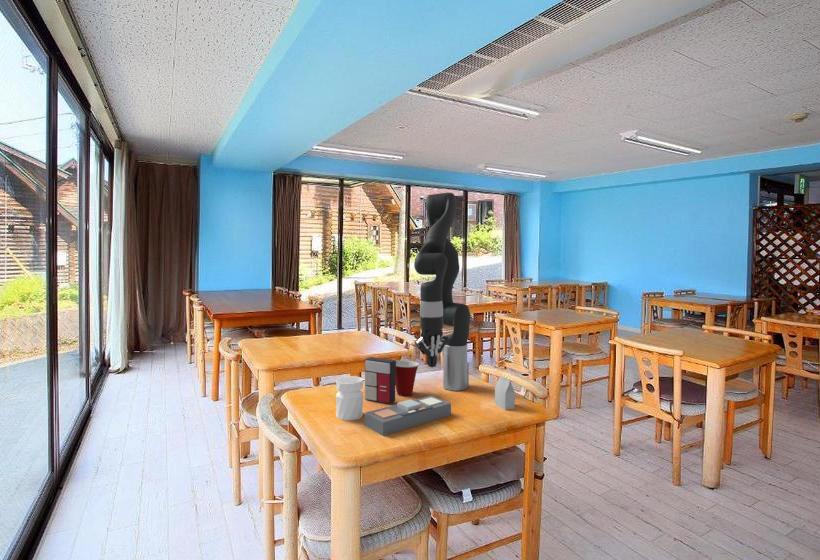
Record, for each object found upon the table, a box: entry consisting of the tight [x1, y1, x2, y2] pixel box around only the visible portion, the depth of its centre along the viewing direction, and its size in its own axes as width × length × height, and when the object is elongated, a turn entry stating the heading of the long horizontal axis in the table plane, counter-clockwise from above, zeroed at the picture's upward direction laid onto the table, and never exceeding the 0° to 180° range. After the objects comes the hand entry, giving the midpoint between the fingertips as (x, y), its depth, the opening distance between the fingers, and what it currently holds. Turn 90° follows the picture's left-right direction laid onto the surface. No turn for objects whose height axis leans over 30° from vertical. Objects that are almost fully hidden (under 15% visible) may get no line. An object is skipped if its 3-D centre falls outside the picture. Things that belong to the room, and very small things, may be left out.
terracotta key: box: [374, 409, 398, 419], centre depth 144 cm, size 5×5×3 cm
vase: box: [335, 375, 364, 422], centre depth 153 cm, size 9×9×12 cm
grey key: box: [396, 399, 421, 412], centre depth 149 cm, size 5×5×3 cm
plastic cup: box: [395, 360, 420, 397], centre depth 176 cm, size 11×11×12 cm
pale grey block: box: [494, 375, 516, 411], centre depth 162 cm, size 4×7×10 cm, turn 21°
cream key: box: [419, 397, 442, 406], centre depth 155 cm, size 5×5×3 cm
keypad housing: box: [364, 395, 452, 436], centre depth 150 cm, size 27×10×4 cm, turn 128°
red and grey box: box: [364, 356, 397, 405], centre depth 168 cm, size 11×4×15 cm, turn 62°
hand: (432, 366), depth 154 cm, fingers closed
